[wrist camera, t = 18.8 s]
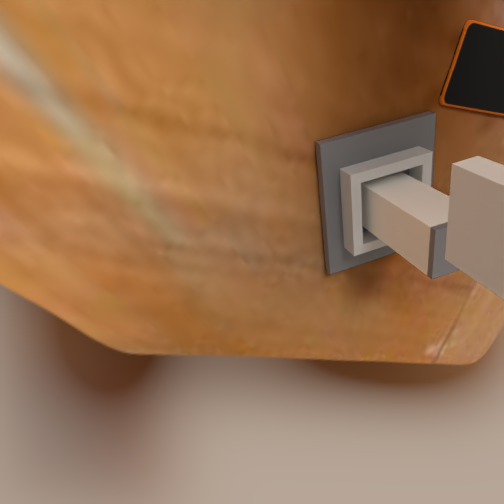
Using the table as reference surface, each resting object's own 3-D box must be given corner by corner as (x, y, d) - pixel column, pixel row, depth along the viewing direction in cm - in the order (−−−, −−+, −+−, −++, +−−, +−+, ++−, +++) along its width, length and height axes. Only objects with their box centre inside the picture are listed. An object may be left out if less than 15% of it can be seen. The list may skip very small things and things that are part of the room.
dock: (315, 141, 42) (330, 150, 39) (429, 111, 44) (450, 117, 42) (325, 270, 49) (339, 284, 46) (423, 237, 51) (441, 249, 49)
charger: (359, 182, 44) (435, 230, 35) (400, 171, 45) (485, 214, 36) (360, 224, 46) (431, 279, 37) (399, 212, 47) (478, 263, 38)
